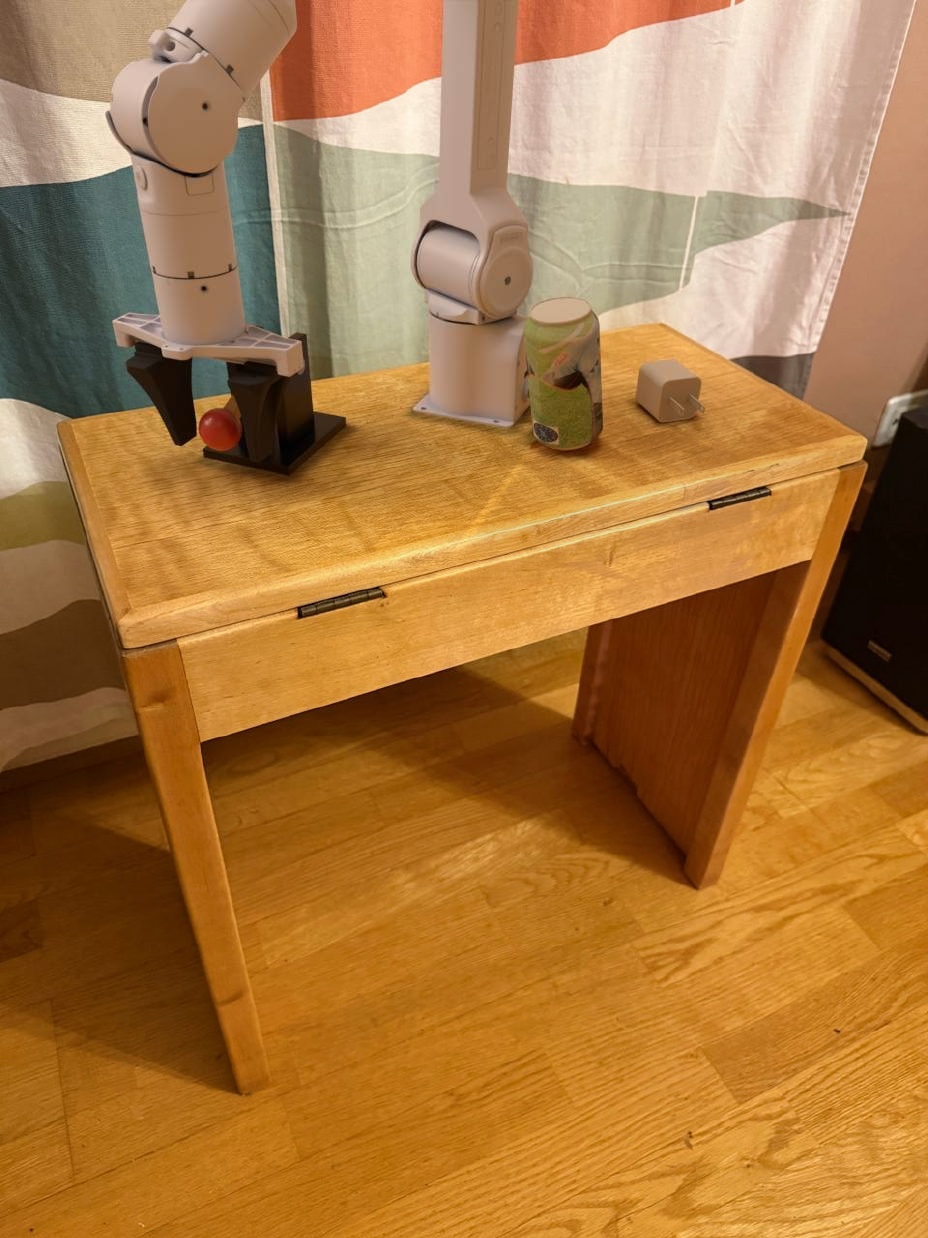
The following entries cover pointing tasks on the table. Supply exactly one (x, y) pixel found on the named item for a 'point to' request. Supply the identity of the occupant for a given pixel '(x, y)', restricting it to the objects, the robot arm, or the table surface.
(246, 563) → the table surface
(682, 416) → the usb wall charger
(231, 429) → the switch lever
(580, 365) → the beverage can
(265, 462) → the switch bracket
